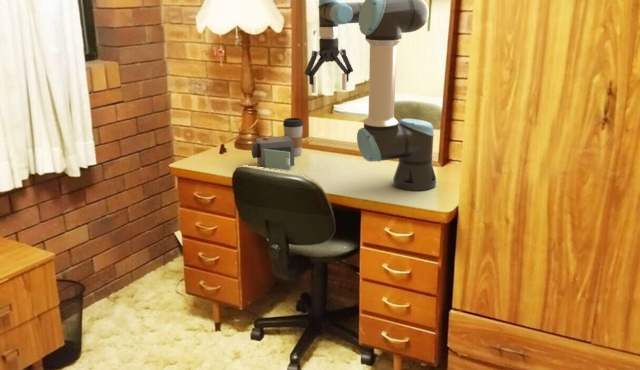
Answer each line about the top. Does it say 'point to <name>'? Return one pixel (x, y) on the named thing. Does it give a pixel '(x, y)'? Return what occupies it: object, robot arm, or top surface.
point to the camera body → (273, 146)
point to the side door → (276, 159)
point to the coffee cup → (294, 133)
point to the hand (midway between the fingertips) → (329, 91)
